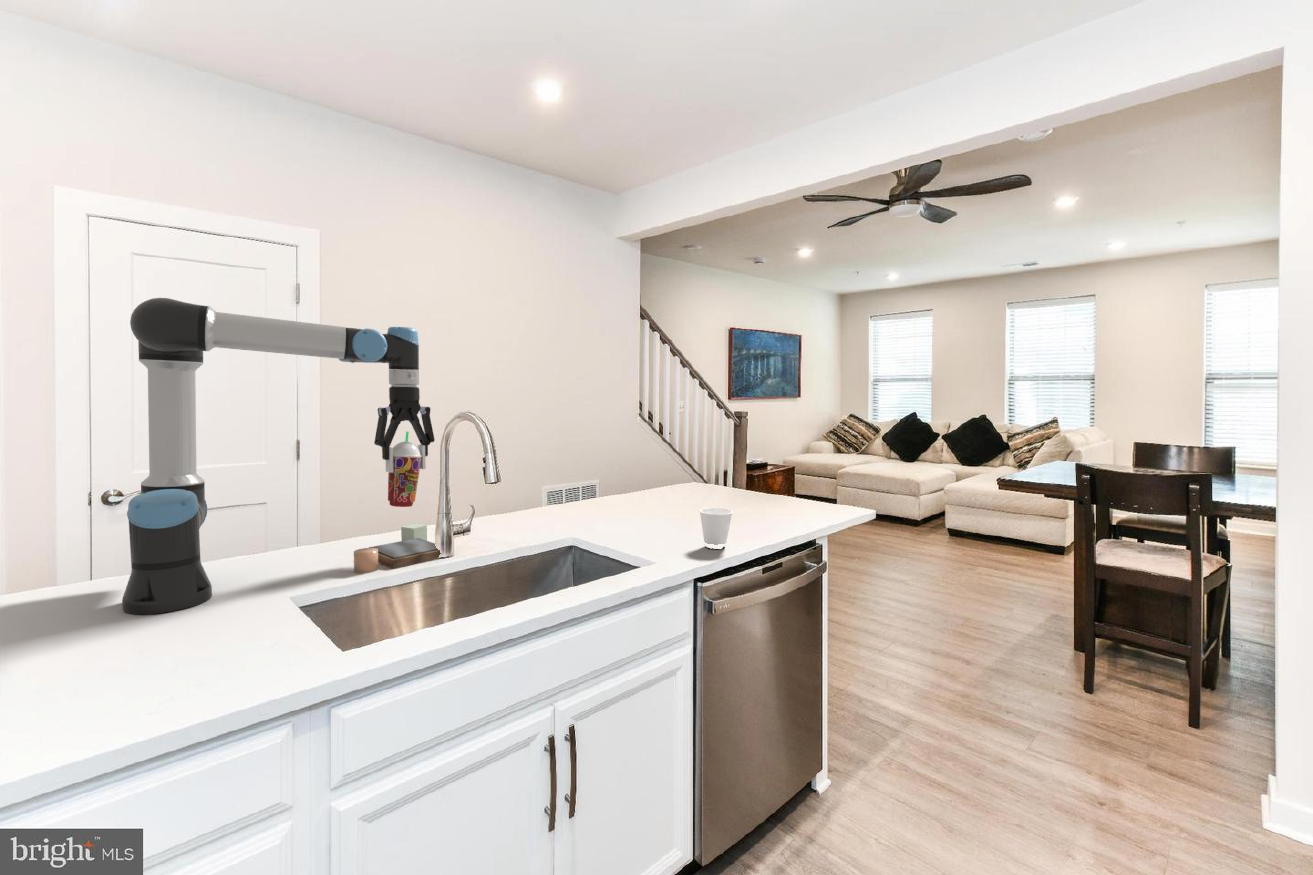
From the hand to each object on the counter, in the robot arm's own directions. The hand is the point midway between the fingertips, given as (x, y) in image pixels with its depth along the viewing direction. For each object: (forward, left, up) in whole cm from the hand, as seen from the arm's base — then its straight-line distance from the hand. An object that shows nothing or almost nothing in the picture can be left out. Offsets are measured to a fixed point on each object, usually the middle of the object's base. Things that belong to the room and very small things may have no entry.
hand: (405, 470), depth 170 cm
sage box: (+9, +13, -24) cm, 29 cm away
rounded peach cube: (-13, -4, -24) cm, 27 cm away
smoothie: (-2, 0, -10) cm, 10 cm away
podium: (0, 0, -24) cm, 24 cm away
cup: (+67, -55, -24) cm, 90 cm away
